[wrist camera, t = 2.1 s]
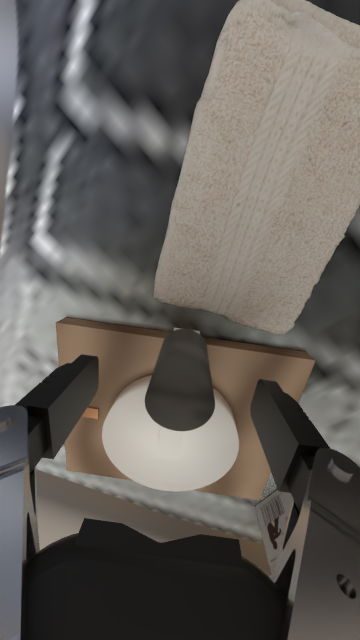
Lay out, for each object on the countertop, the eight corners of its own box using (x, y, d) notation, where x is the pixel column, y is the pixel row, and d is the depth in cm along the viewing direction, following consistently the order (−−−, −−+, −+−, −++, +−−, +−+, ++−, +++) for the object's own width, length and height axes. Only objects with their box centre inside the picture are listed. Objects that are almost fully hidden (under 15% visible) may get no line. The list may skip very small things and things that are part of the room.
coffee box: (345, 511, 25) (592, 935, 9) (305, 535, 27) (457, 919, 11) (288, 478, 23) (467, 902, 8) (251, 506, 25) (340, 891, 10)
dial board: (306, 351, 18) (316, 361, 17) (255, 485, 24) (260, 502, 22) (66, 317, 19) (54, 323, 17) (74, 457, 24) (65, 471, 23)
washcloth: (407, 77, 13) (472, 24, 10) (280, 332, 18) (296, 348, 15) (225, 12, 12) (235, -63, 9) (154, 295, 18) (146, 303, 15)
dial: (220, 478, 21) (236, 606, 14) (109, 460, 22) (63, 577, 14) (264, 325, 16) (333, 396, 8) (113, 303, 16) (37, 352, 8)
